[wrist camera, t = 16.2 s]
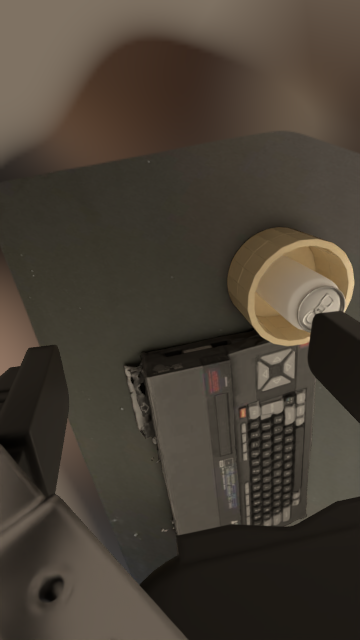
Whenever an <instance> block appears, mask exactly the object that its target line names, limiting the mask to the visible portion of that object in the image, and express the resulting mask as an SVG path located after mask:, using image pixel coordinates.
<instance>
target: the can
mask: <svg viewBox="0 0 360 640" xmlns="http://www.w3.org/2000/svg"><path fill="white" fill-rule="evenodd" d="M256 292H257V293H258V295H259V296H260V297H262V298H263V299H264V300H265V301H266V302H267V303H268V304H269V305H270V306H272V307H273V308H274V309H275V310H276V311H277V312H278V313H279V314H280V315H282V316H283V317H284V318H285V319H286V320H287V321H288V322H290V323H291V324H292V325H293V326H295V327H296V328H298V329H300V330H305V331H306V332H309V333H311V326H312V320H313V317H314V316H315V315H316V314H317V313H324V312H333V311H342V312H344V310H345V297H344V295H343V293H342V292H341V291H340V290H339V289H338V287H337V285H336V284H335V283H334V282H332V281H331V280H329V279H328V278H326V277H324V276H322V275H321V274H319V273H317V272H315V271H313V270H311V269H309V268H308V267H306V266H304V265H302V264H300V263H298V262H296V261H294V260H292V259H290V258H288V257H286V256H281V257H279V258H278V259H277V260H276V261H274V262H273V263H272V264H271V265H270V266H269V267H268V269H267V270H266V272H265V273H264V274H263V276H262V277H261V278H260V281H259V284H258V286H257V289H256Z"/></svg>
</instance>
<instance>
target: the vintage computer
mask: <svg viewBox="0 0 360 640" xmlns="http://www.w3.org/2000/svg"><path fill="white" fill-rule="evenodd" d="M308 348H309V342H308V343H305V344H300V345H293V346H284V345H278V344H273V343H271V342H269V341H268V340H266V339H264V338H263V337H261V336H260V335H259V334H258V333H257V331H256V330H253V331H251V332H245V333H239V334H234V335H228V336H222V337H217V338H214V339H207V340H203V341H200V342H196V343H191V344H187V345H182V346H177V347H173V348H168V349H164V350H158V351H152V352H148V353H144V352H142V354H141V356H140V357H141V360H142V361H141V363H140V366H138V367H132V366H124V370H125V373H126V375H127V376H128V380H127V382H128V386H129V390H130V392H132V394H130V395H131V398H132V403H133V409H134V413H135V418H136V422H137V426H138V429H139V430H140V432H141V433H142V434H143V435H144V433H143V431H142V430H145V435H144V437H145V439H146V438H148V437H152V436H153V437H152V439H153V442H154V444H157V445H158V446H157V451H158V458H159V460H158V461H157V462H160V461H161V464H162V473H163V474H164V478H165V482H166V486H167V491H168V496H169V500H170V504H171V508H172V514H173V518H174V519H172V524H174V527H173V528H172V529H174V530H175V533H176V534H177V535H182V534H187V533H191V532H196V531H201V530H206V529H210V528H215V527H220V526H224V525H229V524H239V525H261V526H282V527H284V526H286V525H289V524H290V523H292V522H294V521H296V520H298V519H302V518H304V517H307V514H306V506H307V483H308V469H309V463H310V454H311V446H312V440H311V438H312V425H313V416H314V397H315V380H316V377H315V376H314V375H313V374H312V372H311V371H310V368H309V365H308V360H307V356H308ZM140 372H141V376H140V378H138V375H139V373H140ZM131 377H132V378H133V380H134V384H132V383H131ZM140 383H144V385H145V387H146V396H145V395H144V394H142V392H141V390H140V388H139V387H140ZM155 438H156V439H155ZM153 458H154V457H153ZM153 458H152V459H151V460H152V461H153ZM157 462H156V463H157ZM164 531H167V530H164ZM161 532H163V528H162V529H161Z"/></svg>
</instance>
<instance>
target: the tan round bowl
mask: <svg viewBox="0 0 360 640" xmlns="http://www.w3.org/2000/svg"><path fill="white" fill-rule="evenodd" d="M281 256H286V257H288V258H290V259H292V260H294V261H296V262H298V263H300V264H302V265H304V266H306V267H308V268H309V269H311V270H313V271H315V272H317V273H319V274H321V275H322V276H324V277H326V278H328V279H329V280H331V281H332V282H334V283H335V284H336V285H337V287H338V289H339V290H340V291H341V292H342V293H343V295H344V297H345V310H346V308H347V306H348V304H349V302H350V300H351V298H352V293H353V287H354V275H353V267H352V265H351V263H350V261H349V259H348V257H347V255H346V254H345V252H344V251H342V250H341V249H340V248H339V247H337V246H336V245H335V244H334V243H332V242H329V241H326V240H323V239H321V238H318V237H315V236H312V235H310V234H307V233H304V232H301V231H298V230H295V229H291V228H287V227H276V228H270V229H267V230H264V231H262V232H259V233H257V234H256V235H254V236H252V237H251V238H250V239H249V240H247V241H246V242H245V243H244V244H243V245H242V246H241V247H240V249H239V250H238V251H237V253H236V254H235V256H234V258H233V260H232V262H231V265H230V268H229V272H228V279H227V286H228V292H229V295H230V298H231V300H232V303H233V304H234V305H235V307H236V308H237V309H238V310H239V312H240V313H241V314H242V315H243V316H244V318H245V319H246V320H247V321H248V322H249V323H250V324H251V326H252V327H253V328H254V329H255V330H256V331H257V333H258V334H259V335H260V336H261V337H263V338H264V339H266V340H268V341H269V342H271V343H273V344H278V345H284V346H293V345H300V344H305V343H308V342H309V341H310V334H311V333H309V332H306V331H305V330H300V329H298V328H296V327H295V326H293V325H292V324H291V323H290V322H288V321H287V320H286V319H285V318H284V317H283V316H282V315H280V314H279V313H278V312H277V311H276V310H275V309H274V308H273V307H272V306H270V305H269V304H268V303H267V302H266V301H265V300H264V299H263V298H262V297H260V296H259V295H258V293H257V292H256V289H257V286H258V284H259V281H260V278H261V277H262V276H263V274H264V273H265V272H266V270H267V269H268V267H269V266H270V265H271V264H272V263H273V262H274V261H276V260H277V259H278V258H279V257H281ZM345 310H344V313H345Z"/></svg>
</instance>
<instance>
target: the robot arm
mask: <svg viewBox="0 0 360 640" xmlns="http://www.w3.org/2000/svg"><path fill="white" fill-rule="evenodd" d="M307 360H308V365H309V368H310V371H311V372H312V374H313V375H314V376H315V377H316V378H317V379H318V380H319V381H320V382H321V383H322V384H323V386H324V387H325V388H326V389H327V390H328V391H329V392H330V393H331V394H332V395H333V396H334V397H335V398H336V399H337V400H338V401H339V402H340V403H341V404H342V405H343V406H344V408H345V409H346V410H347V411H348V412H349V413H350V414H351V415H352V416H353V417H354V418H355V419H356V420H357V421H358V422H359V423H360V322H358V321H356V320H355V319H353V318H352V317H350V316H349V315H347V314H346V313H344V312H342V311H333V312H324V313H317V314H316V315H315V316H314V317H313V320H312V326H311V334H310V341H309V348H308V356H307ZM68 412H69V394H68V388H67V384H66V379H65V375H64V370H63V366H62V361H61V357H60V353H59V349H58V347H57V345H50V346H41V347H33V348H29V349H28V350H27V352H26V354H25V357H24V359H23V361H22V363H21V366H18V367H11V368H9V369H8V370H7V371H6V372H5V373H3V374H2V375H1V376H0V640H360V497H356V498H351V499H346V500H342V501H337V502H335V503H333V504H331V505H330V506H328V507H326V508H324V509H323V510H321V511H319V512H317V513H316V514H314V515H312V516H310V517H309V518H307V519H305V520H303V521H302V522H300V523H298V524H296V525H294V526H290V527H282V526H261V525H239V524H229V525H224V526H220V527H215V528H210V529H206V530H201V531H196V532H191V533H187V534H182V535H177V536H176V541H177V555H178V556H176V557H174V558H172V559H170V560H169V561H167V562H165V563H164V564H163V565H161V566H160V567H158V568H157V569H156V570H154V571H153V572H152V573H151V574H150V575H149V576H148V577H147V578H146V579H145V580H144V581H143V582H142V583H141V584H140V585H139V584H138V583H137V582H136V581H135V580H134V579H133V578H132V576H131V575H130V574H129V573H128V572H127V571H126V570H125V569H124V568H123V567H122V566H121V564H120V563H119V562H118V561H117V560H116V559H115V558H114V556H113V555H112V554H111V553H110V552H109V551H108V550H107V549H106V548H105V546H104V545H103V544H102V543H101V542H100V541H99V540H98V539H97V537H96V536H95V535H94V534H93V533H92V532H91V531H90V530H89V529H88V527H87V526H86V525H85V524H84V523H83V522H82V521H81V520H80V519H79V518H78V516H77V515H76V514H75V513H74V512H73V511H72V510H71V509H70V507H69V506H68V505H67V504H66V503H65V502H64V501H63V500H62V499H61V498H60V497H59V496H58V495H56V494H55V491H56V485H57V479H58V472H59V466H60V460H61V454H62V448H63V442H64V436H65V430H66V424H67V418H68Z"/></svg>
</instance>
